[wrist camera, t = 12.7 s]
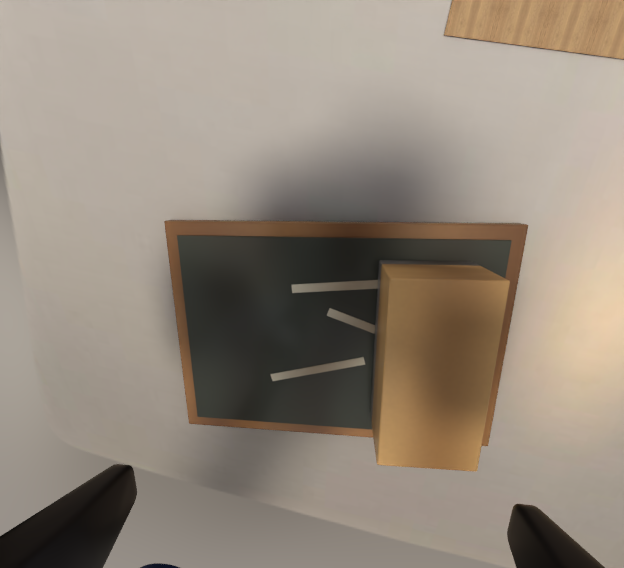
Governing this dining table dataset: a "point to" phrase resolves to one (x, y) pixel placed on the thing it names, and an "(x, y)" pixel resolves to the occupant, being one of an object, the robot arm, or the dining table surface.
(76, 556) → the robot arm
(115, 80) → the dining table surface
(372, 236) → the slate board
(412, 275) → the eraser
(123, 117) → the dining table surface
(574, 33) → the architectural model on board
